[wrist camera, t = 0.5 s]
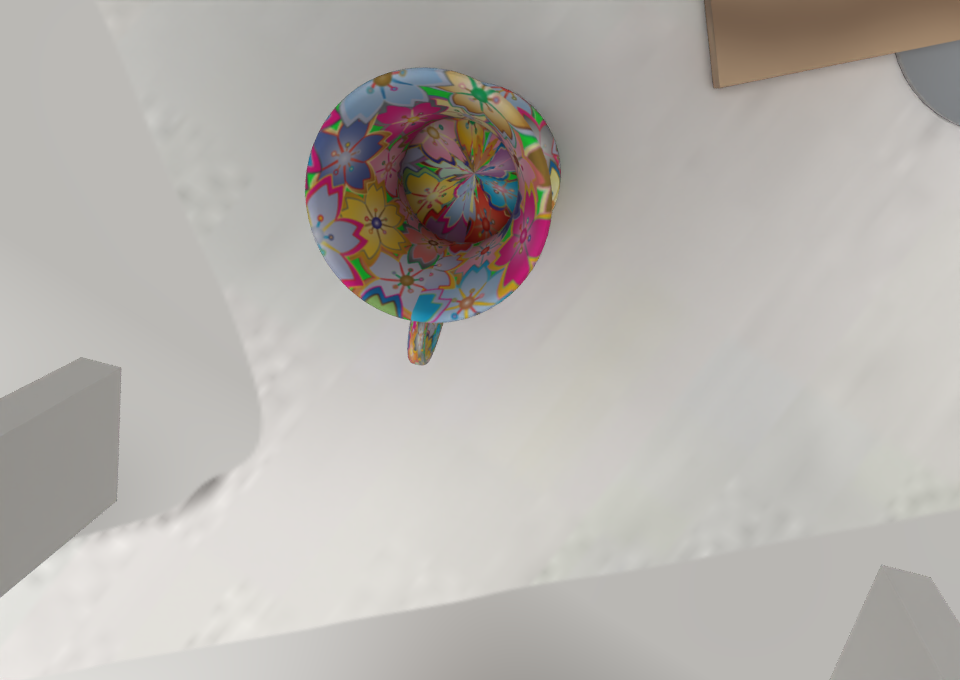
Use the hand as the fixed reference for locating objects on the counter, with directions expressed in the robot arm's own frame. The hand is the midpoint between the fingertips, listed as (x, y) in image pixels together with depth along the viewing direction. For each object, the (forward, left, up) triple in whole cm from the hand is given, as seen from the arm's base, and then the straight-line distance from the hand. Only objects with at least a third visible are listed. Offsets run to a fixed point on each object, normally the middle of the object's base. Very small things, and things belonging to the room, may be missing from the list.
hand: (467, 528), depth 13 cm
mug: (-3, -4, -27) cm, 27 cm away
